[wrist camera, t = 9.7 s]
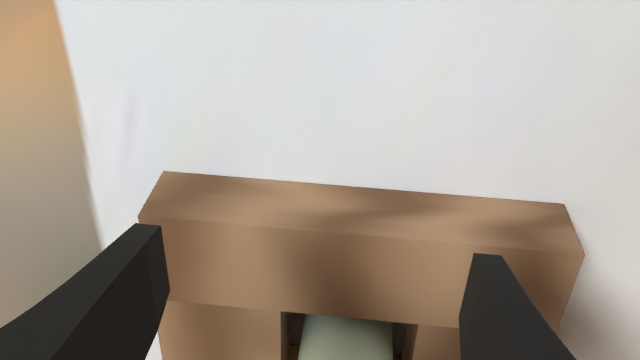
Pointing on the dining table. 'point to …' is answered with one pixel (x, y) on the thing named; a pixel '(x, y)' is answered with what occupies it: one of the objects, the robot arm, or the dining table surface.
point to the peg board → (340, 261)
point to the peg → (345, 339)
